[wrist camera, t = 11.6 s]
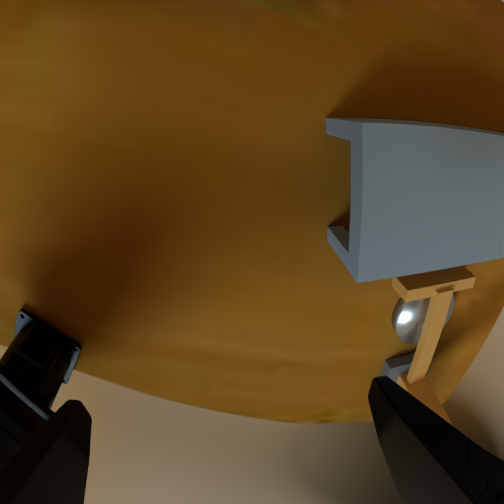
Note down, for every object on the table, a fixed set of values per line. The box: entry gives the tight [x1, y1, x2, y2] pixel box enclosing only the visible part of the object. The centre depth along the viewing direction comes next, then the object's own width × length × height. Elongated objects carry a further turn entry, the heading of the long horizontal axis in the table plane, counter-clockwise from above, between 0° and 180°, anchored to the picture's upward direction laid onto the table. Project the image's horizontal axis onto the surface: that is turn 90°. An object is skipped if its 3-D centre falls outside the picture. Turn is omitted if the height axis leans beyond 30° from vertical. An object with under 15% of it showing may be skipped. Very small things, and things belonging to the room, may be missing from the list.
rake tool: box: [381, 266, 476, 425], centre depth 20 cm, size 14×7×13 cm, turn 5°
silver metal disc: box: [392, 295, 454, 344], centre depth 24 cm, size 6×6×1 cm
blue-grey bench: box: [325, 118, 504, 283], centre depth 17 cm, size 8×18×6 cm, turn 95°
